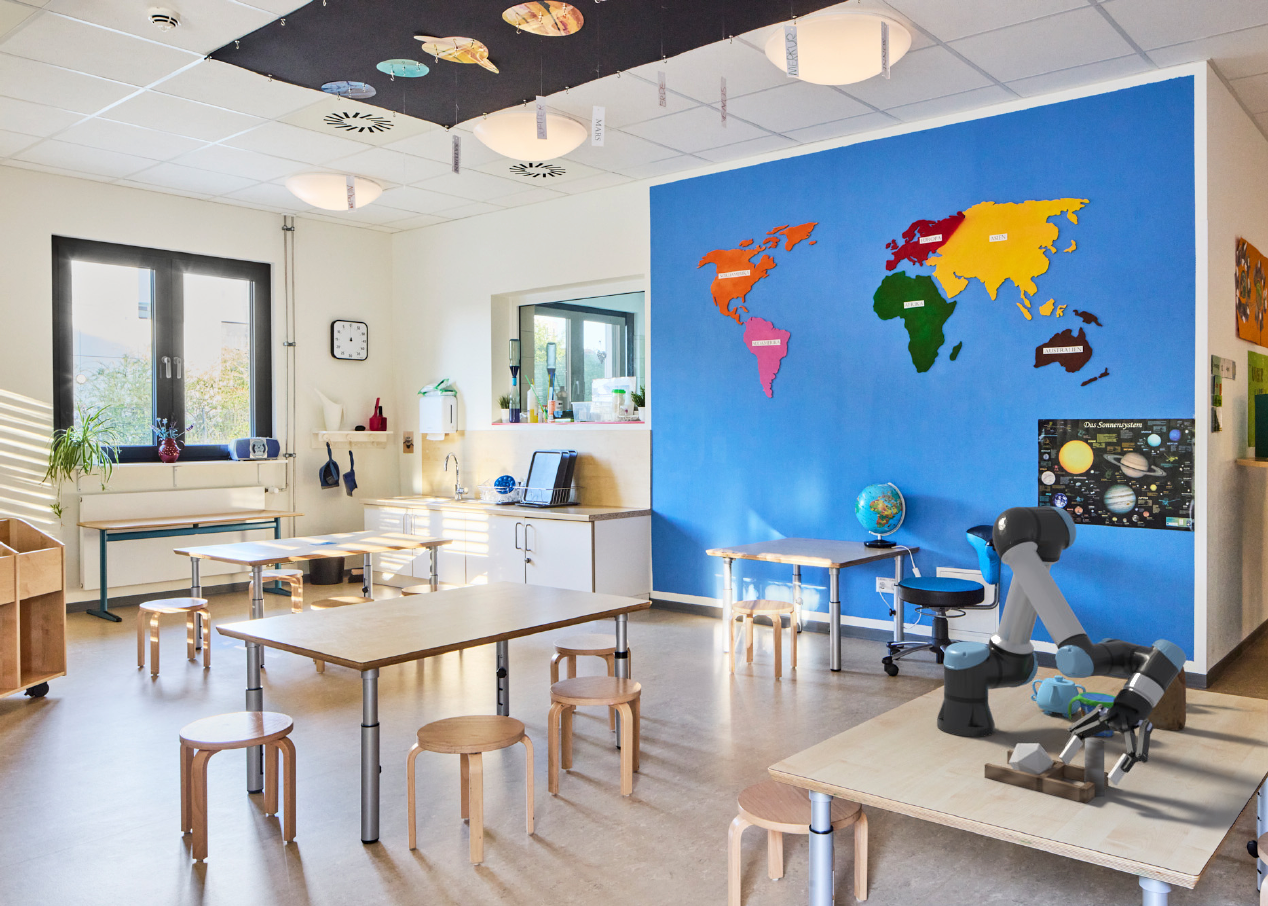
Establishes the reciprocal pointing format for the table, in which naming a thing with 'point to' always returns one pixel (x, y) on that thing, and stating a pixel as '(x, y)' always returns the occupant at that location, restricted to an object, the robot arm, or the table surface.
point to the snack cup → (1093, 705)
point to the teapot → (1056, 695)
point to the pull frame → (1061, 775)
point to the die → (1030, 758)
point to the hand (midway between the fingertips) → (1086, 771)
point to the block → (1171, 706)
